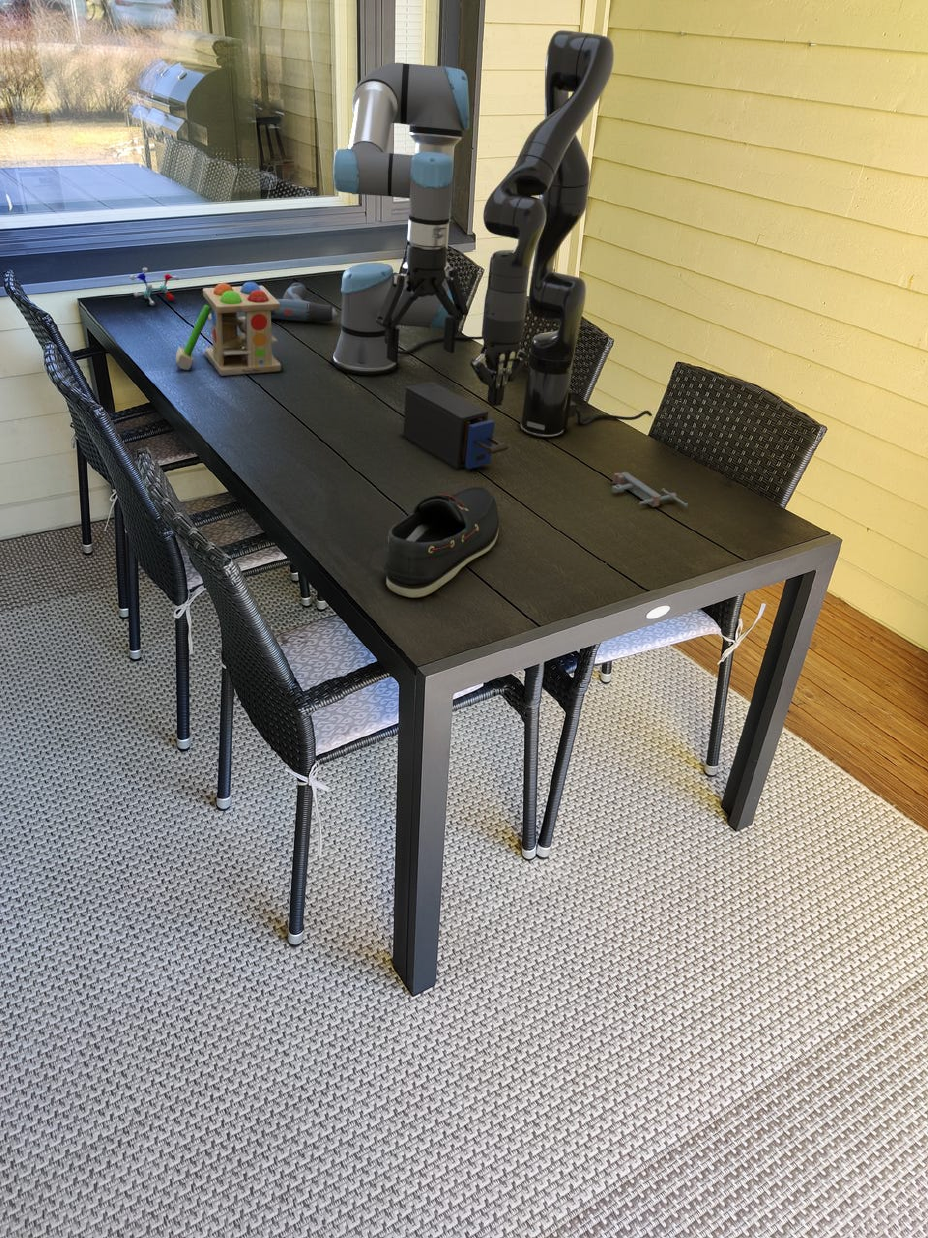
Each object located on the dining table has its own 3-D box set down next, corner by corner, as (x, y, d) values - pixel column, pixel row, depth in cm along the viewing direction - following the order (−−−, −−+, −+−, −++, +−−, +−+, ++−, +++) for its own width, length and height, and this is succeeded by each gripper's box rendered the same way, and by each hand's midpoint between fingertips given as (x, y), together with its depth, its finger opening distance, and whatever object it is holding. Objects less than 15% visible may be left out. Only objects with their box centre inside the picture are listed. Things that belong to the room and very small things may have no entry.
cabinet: (483, 461, 198) (488, 411, 192) (457, 469, 195) (461, 417, 188) (428, 429, 209) (432, 381, 203) (403, 436, 205) (405, 386, 199)
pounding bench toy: (183, 379, 220) (176, 299, 210) (169, 357, 231) (162, 280, 221) (282, 371, 230) (280, 294, 220) (264, 350, 240) (262, 276, 230)
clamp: (601, 475, 192) (641, 467, 197) (599, 485, 194) (639, 477, 198) (649, 509, 182) (690, 500, 186) (647, 519, 183) (688, 510, 188)
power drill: (344, 304, 276) (335, 327, 259) (277, 298, 275) (264, 321, 258) (344, 285, 273) (335, 306, 256) (277, 279, 272) (264, 300, 255)
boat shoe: (525, 530, 177) (530, 477, 171) (421, 604, 153) (423, 545, 147) (465, 510, 182) (468, 458, 177) (355, 579, 158) (355, 521, 153)
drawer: (507, 473, 193) (512, 430, 188) (485, 479, 190) (490, 436, 185) (438, 433, 206) (441, 392, 201) (417, 438, 203) (419, 397, 198)
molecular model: (162, 296, 256) (148, 259, 255) (134, 310, 260) (120, 273, 259) (187, 299, 267) (174, 263, 265) (160, 312, 270) (147, 276, 269)
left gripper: (382, 255, 174) (378, 370, 186) (492, 244, 187) (481, 352, 199) (359, 244, 179) (357, 358, 190) (468, 234, 192) (459, 341, 204)
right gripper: (490, 324, 169) (481, 418, 179) (545, 314, 177) (533, 404, 187) (462, 311, 174) (455, 404, 184) (517, 302, 181) (507, 391, 191)
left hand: (420, 355), depth 195 cm, fingers open, 13 cm apart
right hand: (494, 404), depth 185 cm, fingers closed
